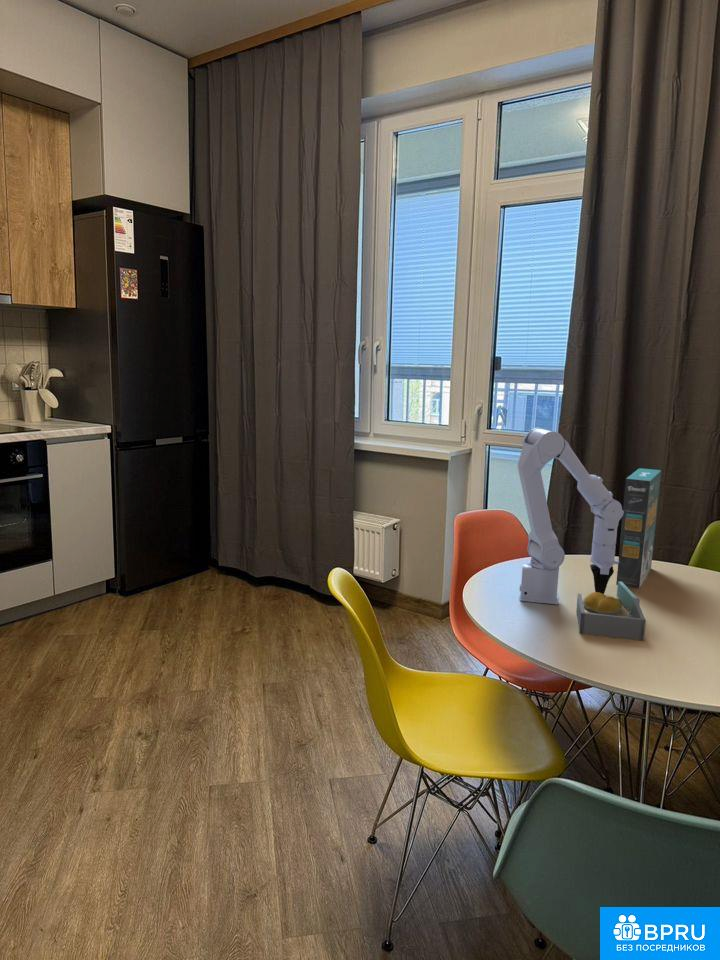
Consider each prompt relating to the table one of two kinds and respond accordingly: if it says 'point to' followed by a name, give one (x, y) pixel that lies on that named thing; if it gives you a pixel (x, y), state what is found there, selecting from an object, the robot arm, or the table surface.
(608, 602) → the bread roll
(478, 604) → the table surface
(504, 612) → the table surface
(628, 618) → the grey open box
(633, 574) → the cake mix box
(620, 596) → the teal flat bar
